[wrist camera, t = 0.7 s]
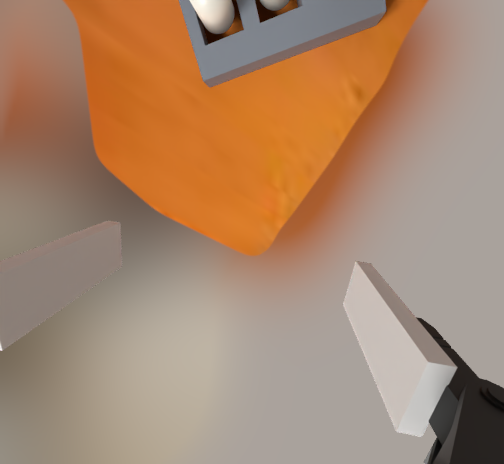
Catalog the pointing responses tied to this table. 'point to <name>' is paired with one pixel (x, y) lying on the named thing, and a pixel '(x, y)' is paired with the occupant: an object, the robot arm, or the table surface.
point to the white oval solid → (274, 4)
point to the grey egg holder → (276, 34)
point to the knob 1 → (215, 14)
